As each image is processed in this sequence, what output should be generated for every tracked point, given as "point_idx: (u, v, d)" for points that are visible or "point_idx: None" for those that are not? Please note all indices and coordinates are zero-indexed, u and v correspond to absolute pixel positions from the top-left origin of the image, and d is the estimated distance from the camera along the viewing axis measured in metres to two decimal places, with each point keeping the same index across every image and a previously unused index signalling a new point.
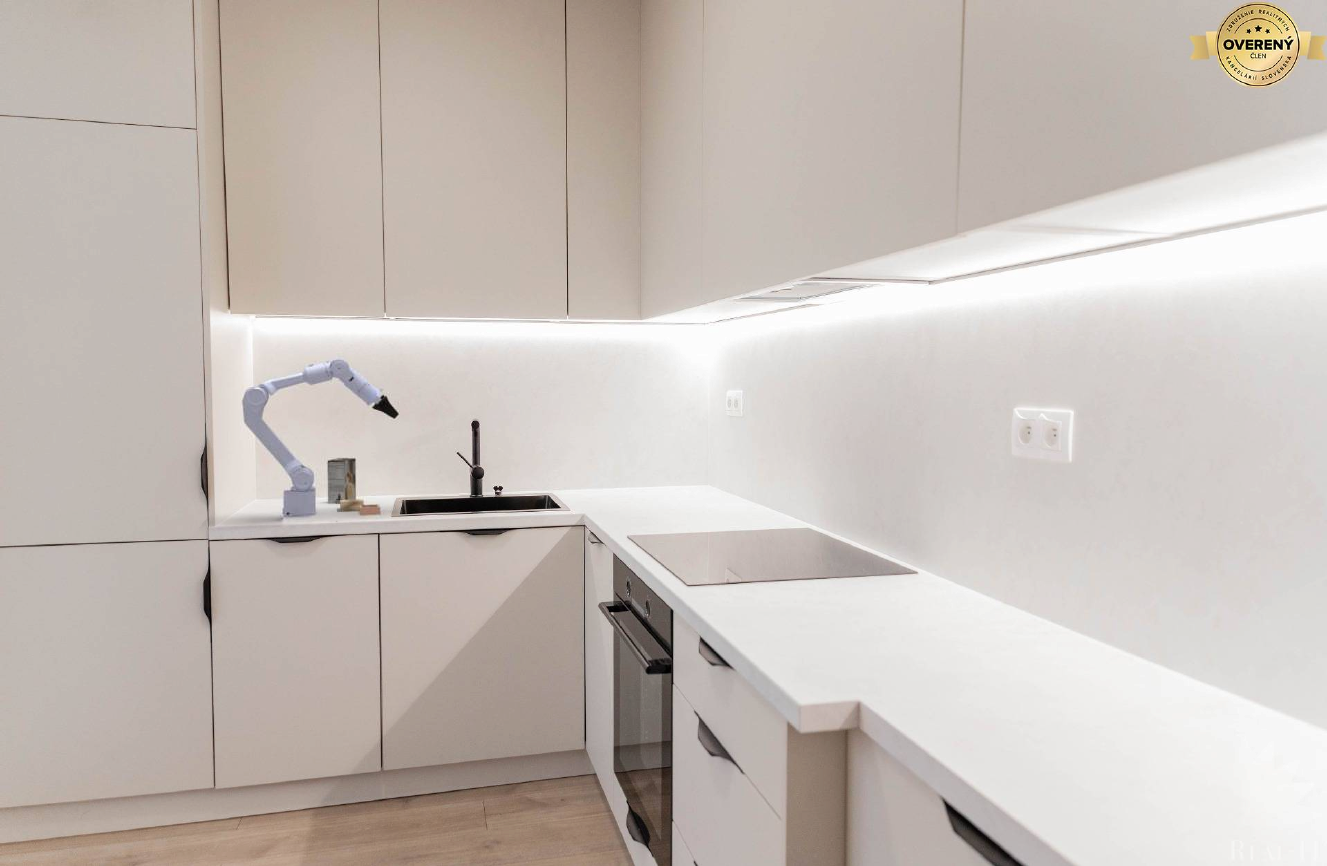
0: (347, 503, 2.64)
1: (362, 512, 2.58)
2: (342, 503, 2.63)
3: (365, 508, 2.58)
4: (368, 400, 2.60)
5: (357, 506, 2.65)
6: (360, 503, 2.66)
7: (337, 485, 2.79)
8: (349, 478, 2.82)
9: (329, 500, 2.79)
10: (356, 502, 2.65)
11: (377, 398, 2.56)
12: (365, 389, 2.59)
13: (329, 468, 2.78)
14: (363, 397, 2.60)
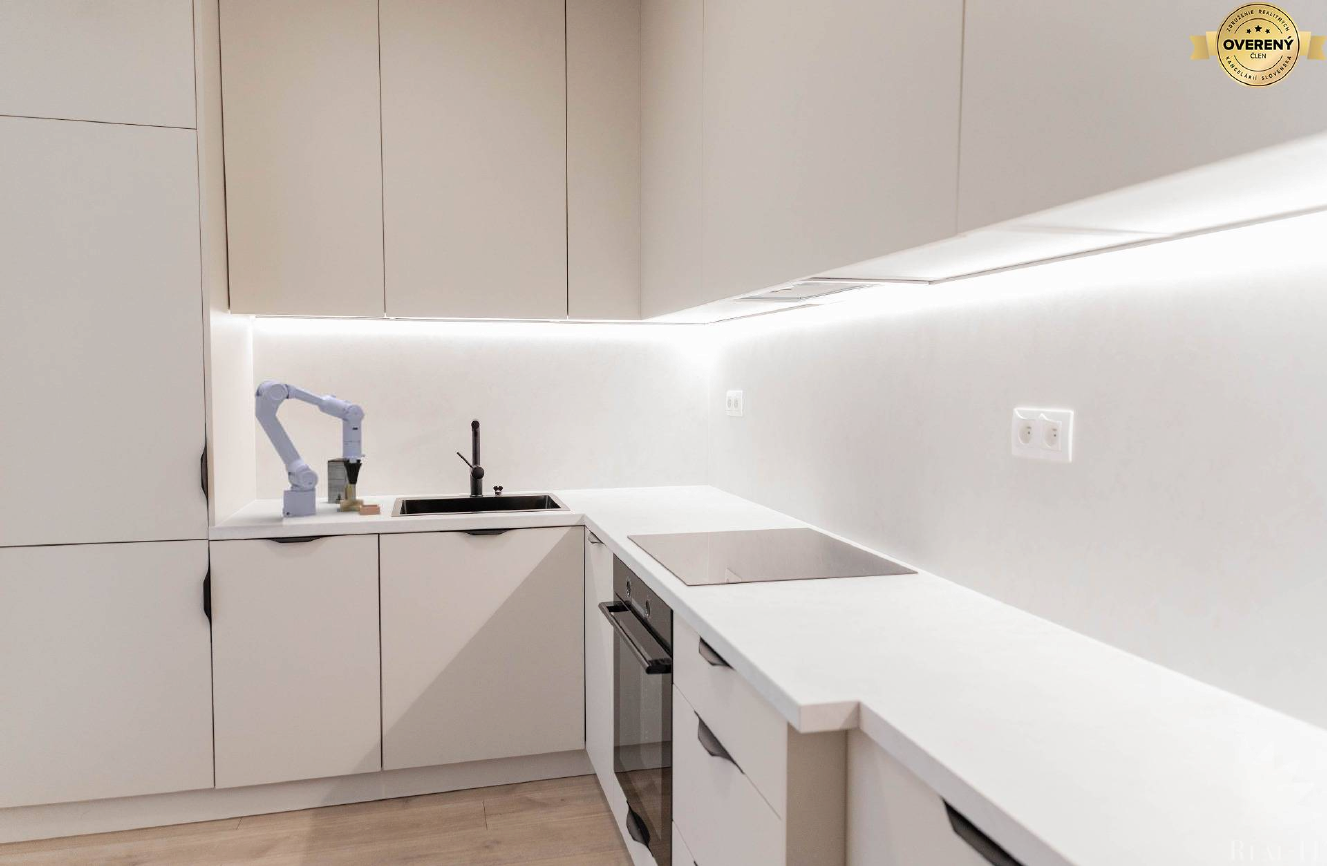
0: (347, 503, 2.64)
1: (362, 512, 2.58)
2: (342, 503, 2.63)
3: (365, 508, 2.58)
4: (346, 454, 2.63)
5: (357, 506, 2.65)
6: (360, 503, 2.66)
7: (337, 485, 2.79)
8: None
9: (329, 500, 2.79)
10: (356, 502, 2.65)
11: (354, 459, 2.59)
12: (353, 444, 2.63)
13: (329, 468, 2.78)
14: (345, 448, 2.63)
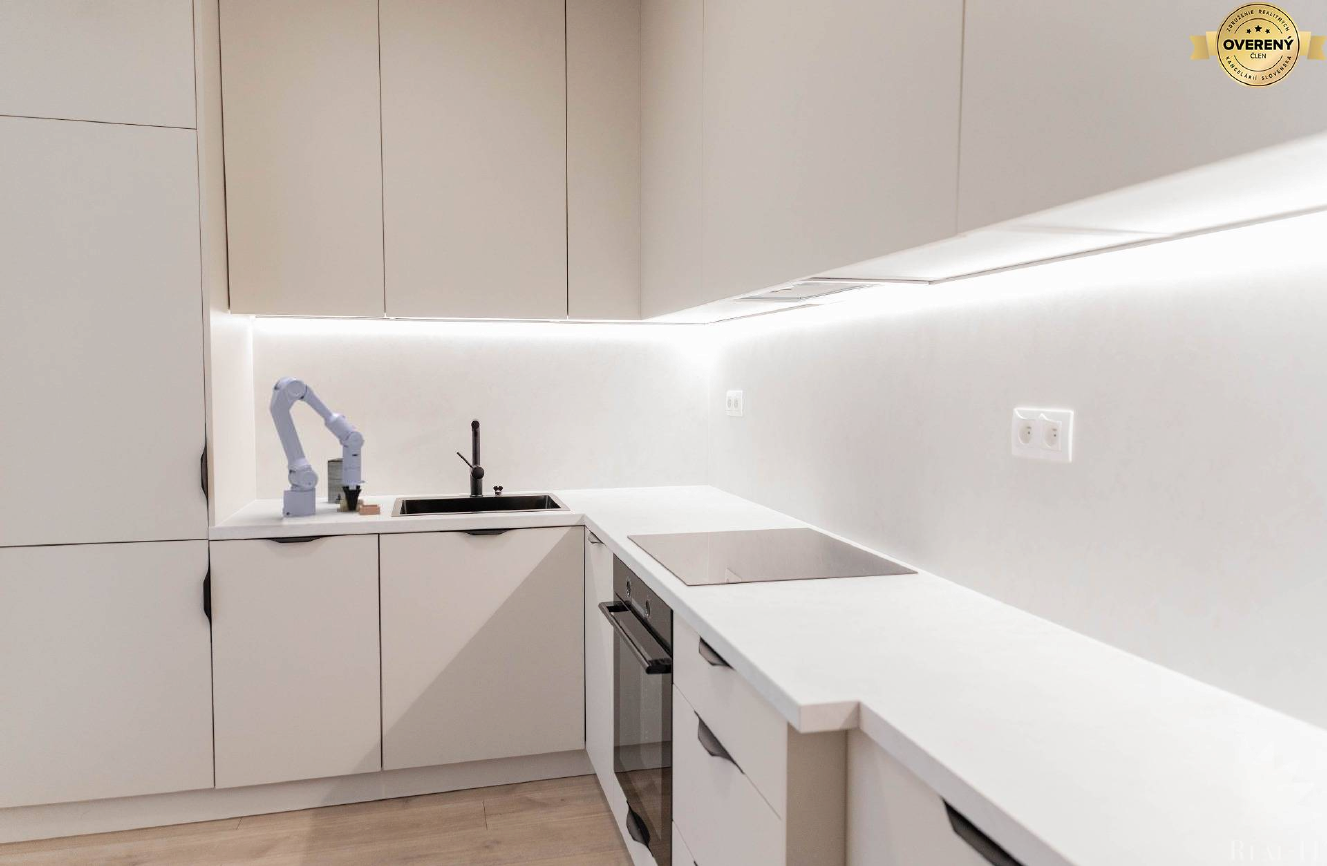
0: None
1: (362, 512, 2.58)
2: (342, 503, 2.63)
3: (365, 508, 2.58)
4: (346, 480, 2.64)
5: (357, 506, 2.65)
6: (360, 503, 2.66)
7: (337, 485, 2.79)
8: None
9: (329, 500, 2.79)
10: None
11: (354, 486, 2.60)
12: (352, 471, 2.64)
13: (329, 468, 2.78)
14: (345, 474, 2.64)
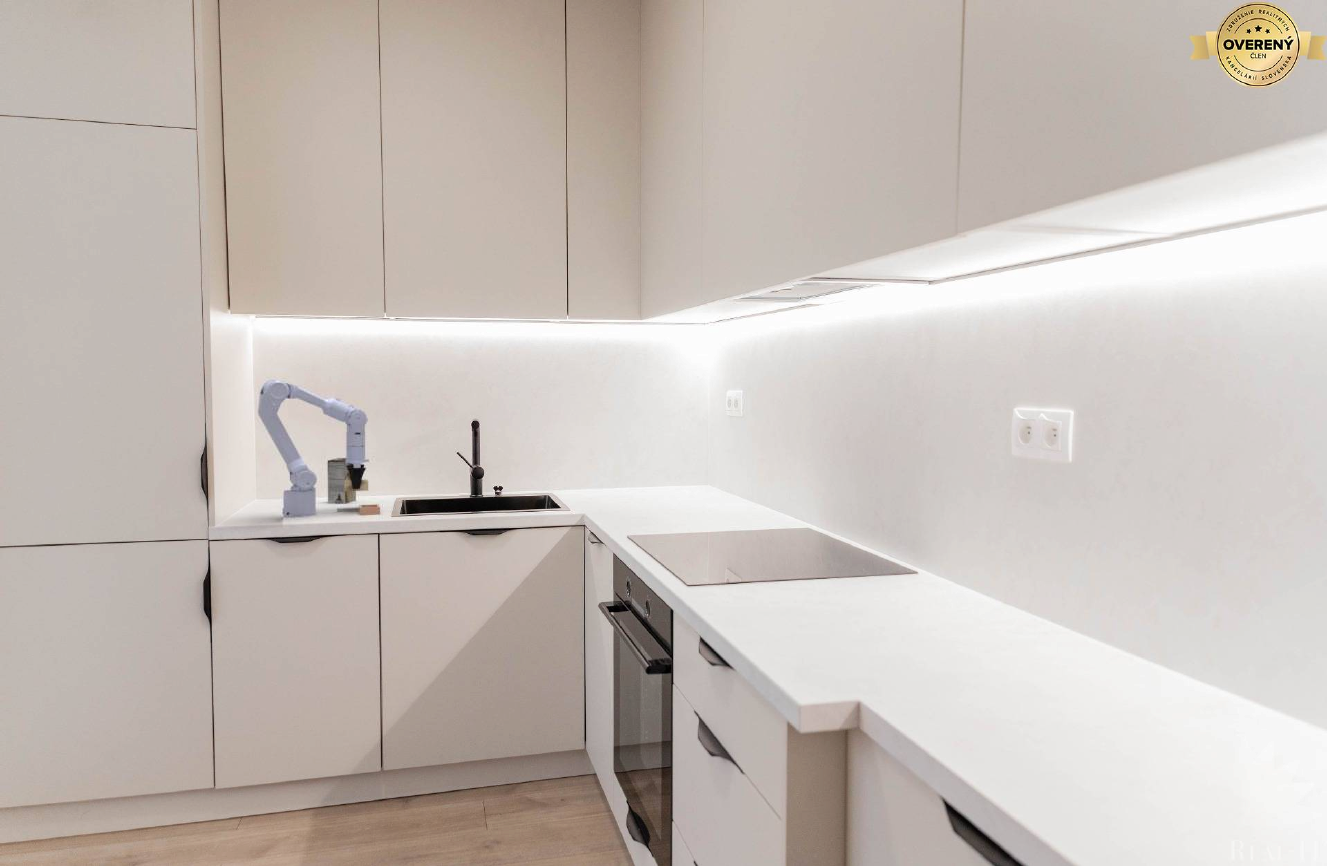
0: None
1: (362, 512, 2.58)
2: (347, 483, 2.62)
3: (365, 508, 2.58)
4: (350, 458, 2.62)
5: (362, 486, 2.64)
6: (365, 483, 2.64)
7: (337, 485, 2.79)
8: (349, 478, 2.82)
9: (329, 500, 2.79)
10: (361, 482, 2.64)
11: (358, 464, 2.58)
12: (357, 449, 2.62)
13: (329, 468, 2.78)
14: (349, 453, 2.62)
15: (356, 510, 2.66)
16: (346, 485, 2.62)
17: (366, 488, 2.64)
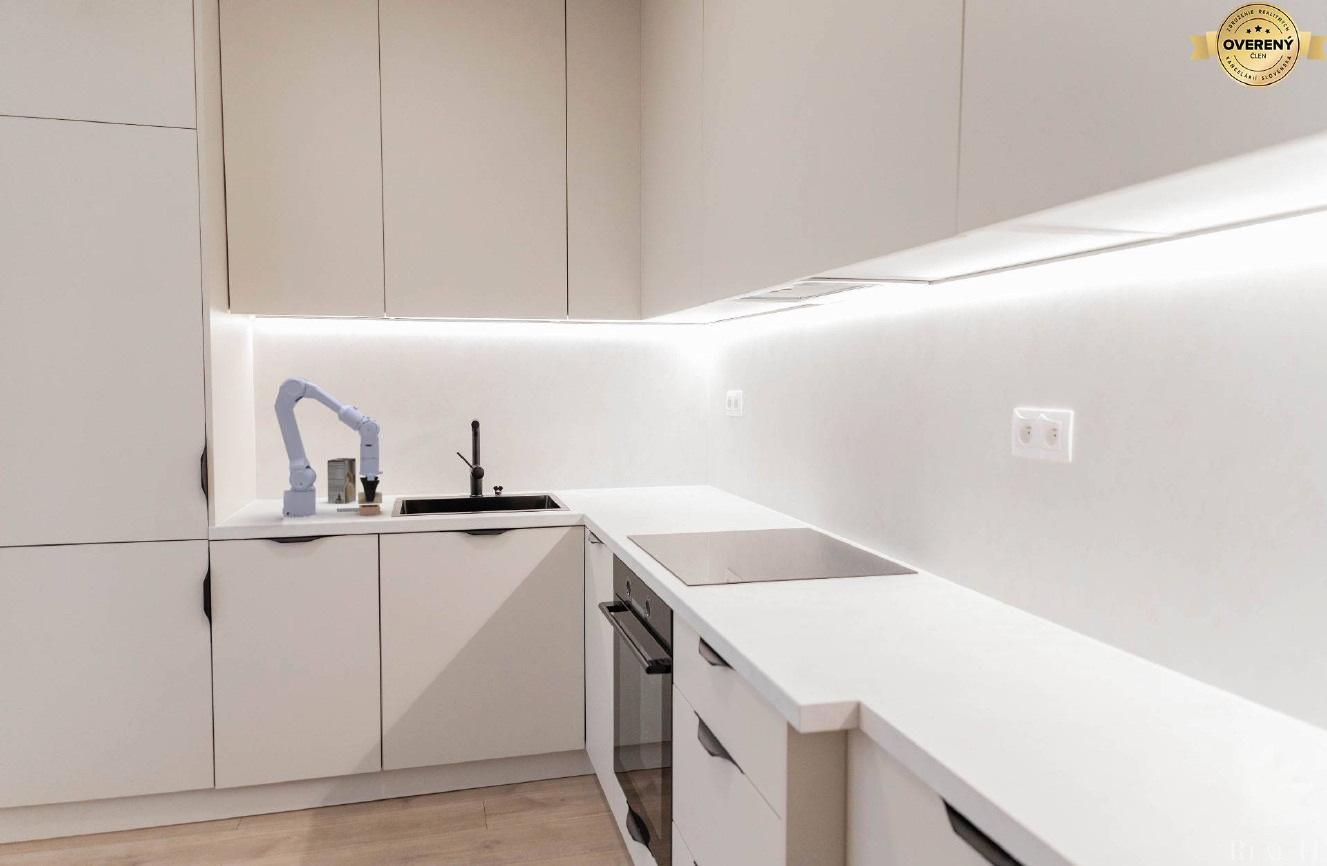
0: None
1: (362, 512, 2.58)
2: (360, 496, 2.57)
3: (365, 508, 2.58)
4: (364, 471, 2.58)
5: (376, 499, 2.59)
6: (379, 496, 2.60)
7: (337, 485, 2.79)
8: (349, 478, 2.82)
9: (329, 500, 2.79)
10: (375, 495, 2.59)
11: (372, 476, 2.54)
12: (370, 461, 2.58)
13: (329, 468, 2.78)
14: (363, 465, 2.58)
15: (356, 510, 2.66)
16: (360, 498, 2.57)
17: (380, 501, 2.60)
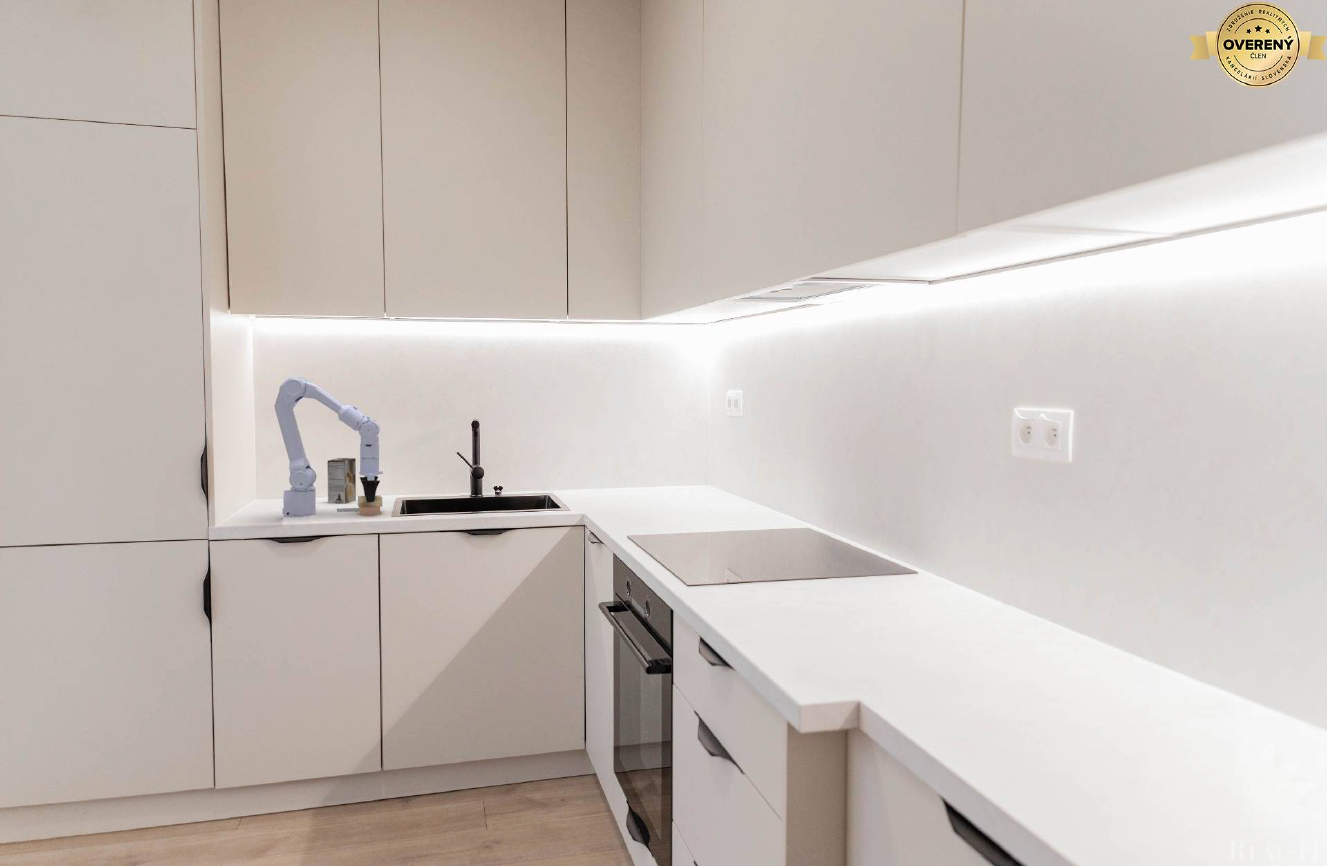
0: (365, 499, 2.58)
1: (362, 512, 2.58)
2: (360, 499, 2.57)
3: (365, 508, 2.58)
4: (364, 471, 2.58)
5: (376, 502, 2.59)
6: (379, 499, 2.60)
7: (337, 485, 2.79)
8: (349, 478, 2.82)
9: (329, 500, 2.79)
10: (375, 498, 2.59)
11: (372, 476, 2.54)
12: (371, 461, 2.58)
13: (329, 468, 2.78)
14: (363, 465, 2.58)
15: (356, 510, 2.66)
16: (360, 501, 2.57)
17: (380, 504, 2.60)
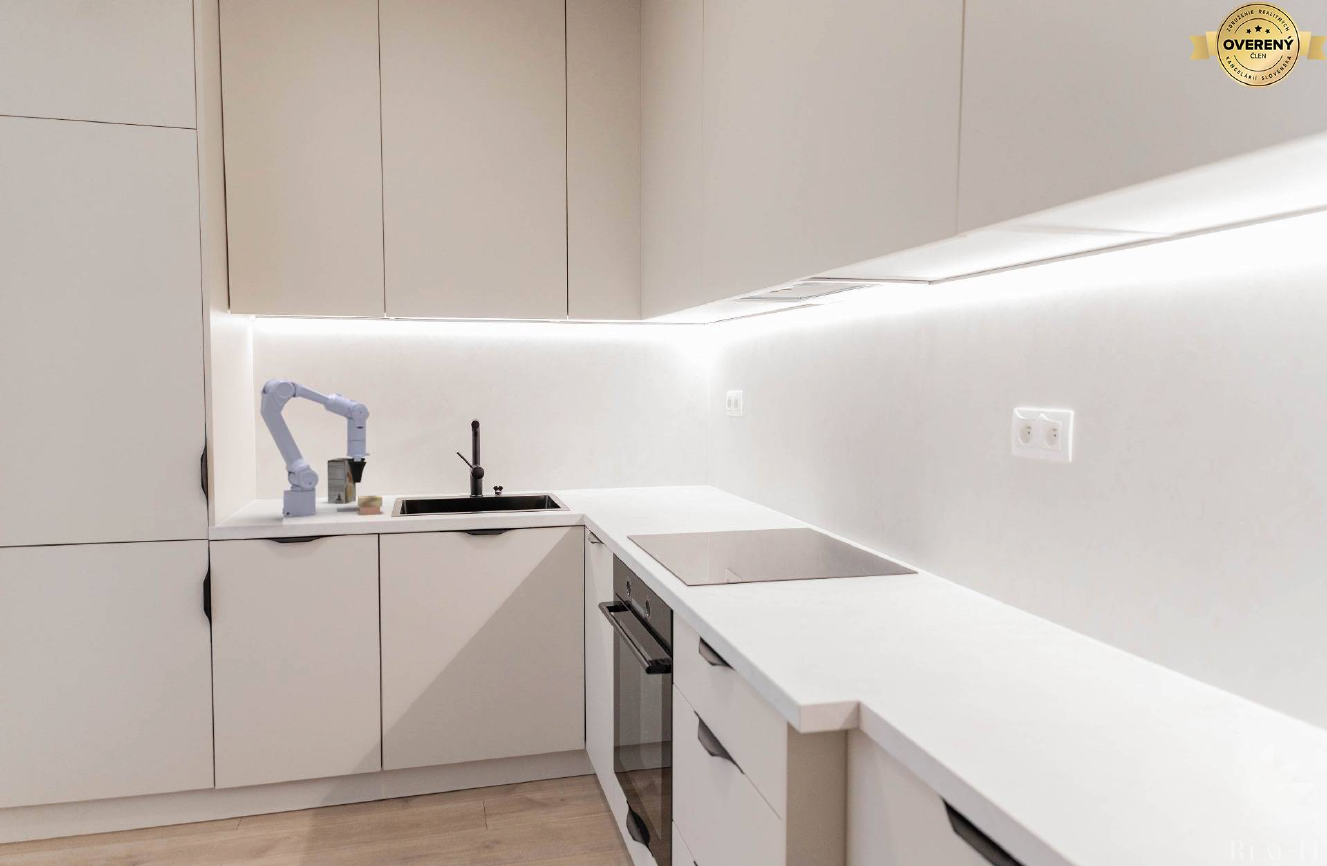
0: (365, 499, 2.58)
1: (362, 512, 2.58)
2: (360, 499, 2.57)
3: (365, 508, 2.58)
4: (351, 452, 2.65)
5: (376, 502, 2.59)
6: (379, 499, 2.60)
7: (337, 485, 2.79)
8: (349, 478, 2.82)
9: (329, 500, 2.79)
10: (375, 498, 2.59)
11: (358, 457, 2.61)
12: (357, 443, 2.65)
13: (329, 468, 2.78)
14: (350, 447, 2.65)
15: (356, 510, 2.66)
16: (360, 501, 2.57)
17: (380, 504, 2.60)
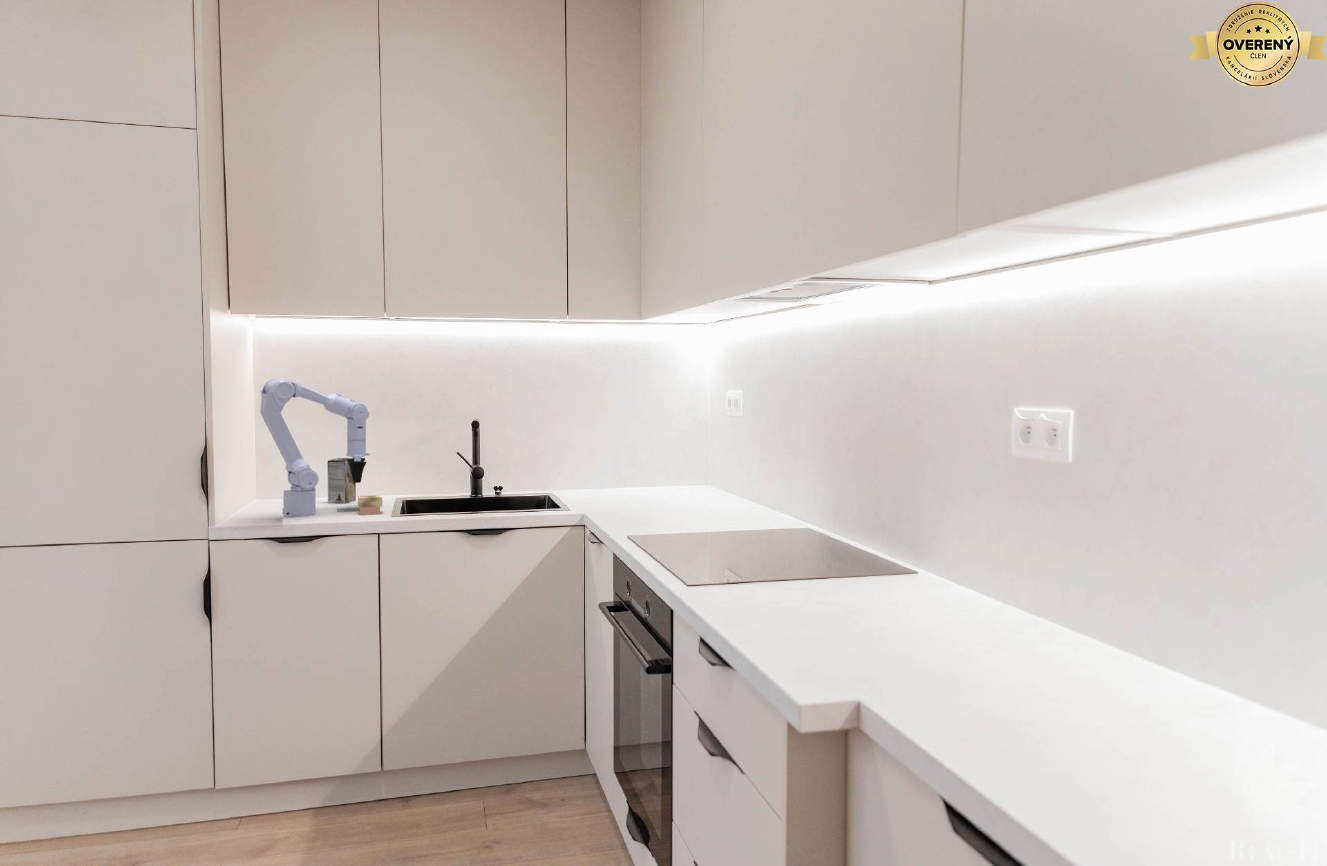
0: (365, 499, 2.58)
1: (362, 512, 2.58)
2: (360, 499, 2.57)
3: (365, 508, 2.58)
4: (351, 452, 2.65)
5: (376, 502, 2.59)
6: (379, 499, 2.60)
7: (337, 485, 2.79)
8: (349, 478, 2.82)
9: (329, 500, 2.79)
10: (375, 498, 2.59)
11: (358, 457, 2.61)
12: (357, 443, 2.65)
13: (329, 468, 2.78)
14: (350, 447, 2.65)
15: (356, 510, 2.66)
16: (360, 501, 2.57)
17: (380, 504, 2.60)
